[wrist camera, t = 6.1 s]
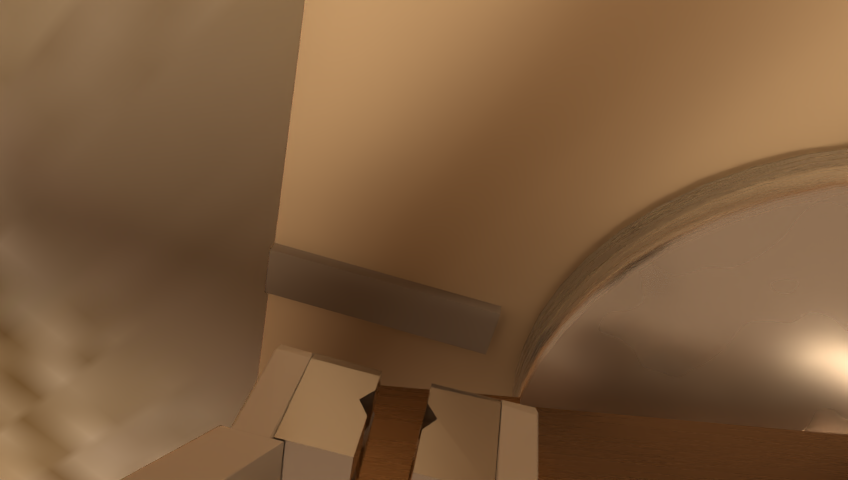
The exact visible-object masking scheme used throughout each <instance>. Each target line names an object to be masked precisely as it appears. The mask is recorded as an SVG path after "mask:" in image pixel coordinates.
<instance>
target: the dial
mask: <svg viewBox="0 0 848 480" xmlns="http://www.w3.org/2000/svg"><path fill="white" fill-rule="evenodd" d="M429 391H430V390H429V389H418V388H406V387H395V386H383V385H380V390H379V394H378V397H377V400H376V404H375V407H374V410H373V412H374V413H375V415H374V420H373V425H372V429H371V434H370V438H369V442H368V446H367V450H366V453H365V457H364V461H363V464H362V468H361V471H360V475H359V478H358V479H357V480H408V477H409V473H410V468H411V463H412V459H413V455H414V451H415V447H416V443H417V439H418V435H419V431H420V426H421V424H422V420H423V416H424V411H425V407H426V403H427V399H428V395H429ZM474 394H475V393H474ZM478 395H482V396H487V397H491V398H495V399H499V401H500V400H505V401H509V402H513V403H518V404H522V405H526V406H530V407H535V408H536V410H537V412H538V480H848V148H847V149H839V150H832V151H825V152H817V153H810V154H803V155H799V156H795V157H791V158H787V159H783V160H779V161H775V162H771V163H767V164H763V165H759V166H755V167H751V168H748V169H745V170H743V171H740V172H737V173H734V174H731V175H729V176H726V177H723V178H720V179H718V180H715V181H712V182H709V183H706V184H704V185H701V186H699V187H697V188H695V189H693V190H691V191H689V192H687V193H685V194H683V195H681V196H679V197H677V198H675V199H673V200H671V201H668V202H666V203H664V204H662V205H660V206H658V207H657V208H655V209H654V210H652V211H650V212H649V213H647V214H646V215H644V216H642V217H641V218H639V219H638V220H636V221H635V222H633V223H631V224H630V225H628V226H627V227H625V228H623V229H622V230H620V231H619V232H618V233H617V234H615V235H614V236H613V237H612V238H610V239H609V240H608V241H607V242H605V243H604V244H603V245H602V246H601V247H599V248H598V249H597V250H596V251H594V252H593V253H592V254H591V255H589V256H588V257H587V258H586V259H585V260H584V261H583V262H582V263H581V264H580V265H579V266H578V267H577V269H576V270H575V271H574V272H573V273H572V274H571V275H570V276H569V277H568V278H567V279H566V280H565V281H564V282H563V283H562V284H561V285H560V287H559V288H558V289H557V291H556V292H555V294H554V295H553V296H552V298H551V299H550V300H549V302H548V303H547V305H546V306H545V307H544V309H543V310H542V312H541V313H540V314H539V316H538V318H537V320H536V322H535V324H534V326H533V328H532V330H531V332H530V334H529V336H528V338H527V340H526V342H525V344H524V347H523V350H522V353H521V356H520V359H519V362H518V365H517V368H516V371H515V378H514V385H513V392H512V397H510V396H498V395H487V394H478Z"/></svg>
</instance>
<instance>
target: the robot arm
mask: <svg viewBox="0 0 848 480" xmlns="http://www.w3.org/2000/svg"><path fill="white" fill-rule="evenodd" d="M381 378H382V371H379V370H376V369H372V368H369V367H365V366H361V365H358V364H354V363H350V362H347V361H343V360H339V359H336V358H332V357H329V356H325V355H321V354H318V353H315V354H314V353H311V352H307V351H304V350H300V349H297V348H293V347H289V346H286V345H282V344H281V345H280V346H279V347H278V348H276V349H275V350H274V351H273V353H272V355H271V357H270V359H269V360H268V362H267V364H266V366H265V368H264V369H263V371H262V373H261V375H260V376H259V378H258V380H257V382H256V384H255V385H254V387H253V389H252V391H251V392H250V394H249V396H248V398H247V400H246V401H245V403H244V405H243V407H242V409H241V410H240V412H239V414H238V416H237V417H236V419H235V421H234V423H233V425H232V426H231V428H230V427H225V426H221V425H220V426H218V427H216V428H214V429H212V430H210V431H209V432H207V433H205V434H203V435H201V436H199V437H198V438H196V439H194V440H192V441H190V442H189V443H187V444H185V445H183V446H181V447H179V448H178V449H176V450H174V451H172V452H170V453H168V454H167V455H165V456H163V457H161V458H159V459H157V460H156V461H154V462H152V463H150V464H148V465H146V466H145V467H143V468H141V469H139V470H137V471H136V472H134V473H132V474H130V475H128V476H126V477H125V478H123V479H121V480H357V479H358V478H359V475H360V471H361V468H362V464H363V461H364V457H365V453H366V450H367V446H368V442H369V438H370V434H371V429H372V425H373V420H374V415H375V413H374V412H373V410H374V407H375V404H376V400H377V397H378V394H379V390H380V384H381ZM408 480H538V412H537V410H536V408H535V407H530V406H526V405H522V404H518V403H513V402H509V401H505V400H500V401H499V399H495V398H491V397H487V396H482V395H478V394H474V393H470V392H466V391H462V390H457V389H453V388H449V387H445V386H441V385H437V384H433V383H432V384H431V388H430V391H429V395H428V399H427V403H426V407H425V411H424V416H423V420H422V424H421V426H420V431H419V435H418V439H417V443H416V447H415V451H414V455H413V459H412V463H411V468H410V473H409V477H408Z"/></svg>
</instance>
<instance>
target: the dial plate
mask: <svg viewBox="0 0 848 480" xmlns="http://www.w3.org/2000/svg"><path fill="white" fill-rule="evenodd" d="M847 148H848V0H305V5H304V13H303V21H302V29H301V37H300V45H299V53H298V61H297V69H296V77H295V85H294V93H293V101H292V109H291V117H290V124H289V132H288V140H287V148H286V156H285V164H284V172H283V180H282V188H281V196H280V204H279V212H278V220H277V228H276V236H275V243H274V244H273V246H272V247H271V248H270V252H269V261H268V269H267V277H266V285H265V292H266V293H268V299H267V307H266V315H265V323H264V331H263V339H262V347H261V355H260V363H259V371H258V378H259V376H260V375H261V373H262V371H263V369H264V368H265V366H266V364H267V362H268V360H269V359H270V357H271V355H272V353H273V351H274V350H275V349H276V348H278V347H279V346H280V345H281V344H282V345H286V346H289V347H293V348H297V349H300V350H304V351H307V352H311V353H314V354H315V353H318V354H321V355H325V356H329V357H332V358H336V359H339V360H343V361H347V362H350V363H354V364H358V365H361V366H365V367H369V368H372V369H376V370H379V371H382V378H381V384H380V385H383V386H395V387H406V388H418V389H429V390H430V388H431V384H432V383H433V384H437V385H441V386H445V387H449V388H453V389H457V390H462V391H466V392H470V393H475V394H487V395H498V396H510V397H512V392H513V385H514V378H515V371H516V368H517V365H518V362H519V359H520V356H521V353H522V350H523V347H524V344H525V342H526V340H527V338H528V336H529V334H530V332H531V330H532V328H533V326H534V324H535V322H536V320H537V318H538V316H539V314H540V313H541V312H542V310H543V309H544V307H545V306H546V305H547V303H548V302H549V300H550V299H551V298H552V296H553V295H554V294H555V292H556V291H557V289H558V288H559V287H560V285H561V284H562V283H563V282H564V281H565V280H566V279H567V278H568V277H569V276H570V275H571V274H572V273H573V272H574V271H575V270H576V269H577V267H578V266H579V265H580V264H581V263H582V262H583V261H584V260H585V259H586V258H587V257H588V256H589V255H591V254H592V253H593V252H594V251H596V250H597V249H598V248H599V247H601V246H602V245H603V244H604V243H605V242H607V241H608V240H609V239H610V238H612V237H613V236H614V235H615V234H617V233H618V232H619V231H620V230H622V229H623V228H625V227H627V226H628V225H630V224H631V223H633V222H635V221H636V220H638V219H639V218H641V217H642V216H644V215H646V214H647V213H649V212H650V211H652V210H654V209H655V208H657V207H658V206H660V205H662V204H664V203H666V202H668V201H671V200H673V199H675V198H677V197H679V196H681V195H683V194H685V193H687V192H689V191H691V190H693V189H695V188H697V187H699V186H701V185H704V184H706V183H709V182H712V181H715V180H718V179H720V178H723V177H726V176H729V175H731V174H734V173H737V172H740V171H743V170H745V169H748V168H751V167H755V166H759V165H763V164H767V163H771V162H775V161H779V160H783V159H787V158H791V157H795V156H799V155H803V154H810V153H817V152H825V151H832V150H839V149H847ZM257 380H258V379H257Z"/></svg>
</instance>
